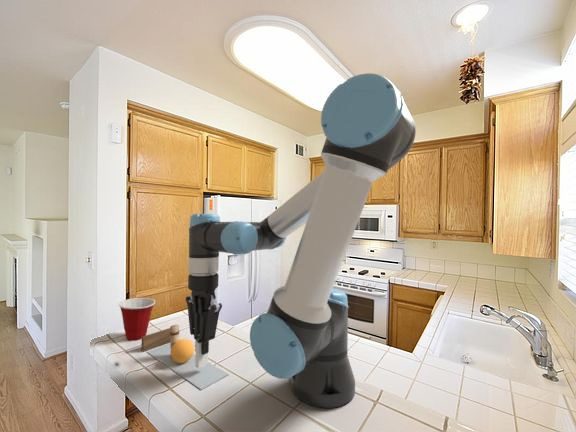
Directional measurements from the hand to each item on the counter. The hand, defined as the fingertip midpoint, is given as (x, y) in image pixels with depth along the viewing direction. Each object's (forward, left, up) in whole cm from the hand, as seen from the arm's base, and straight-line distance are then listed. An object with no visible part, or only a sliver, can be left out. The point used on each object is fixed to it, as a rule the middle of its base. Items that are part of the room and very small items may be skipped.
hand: (201, 365), depth 67 cm
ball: (+9, 0, +1) cm, 9 cm away
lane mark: (+8, 0, -2) cm, 8 cm away
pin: (+13, 0, -2) cm, 13 cm away
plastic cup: (+35, +1, -2) cm, 36 cm away
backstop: (+24, 0, -2) cm, 24 cm away
